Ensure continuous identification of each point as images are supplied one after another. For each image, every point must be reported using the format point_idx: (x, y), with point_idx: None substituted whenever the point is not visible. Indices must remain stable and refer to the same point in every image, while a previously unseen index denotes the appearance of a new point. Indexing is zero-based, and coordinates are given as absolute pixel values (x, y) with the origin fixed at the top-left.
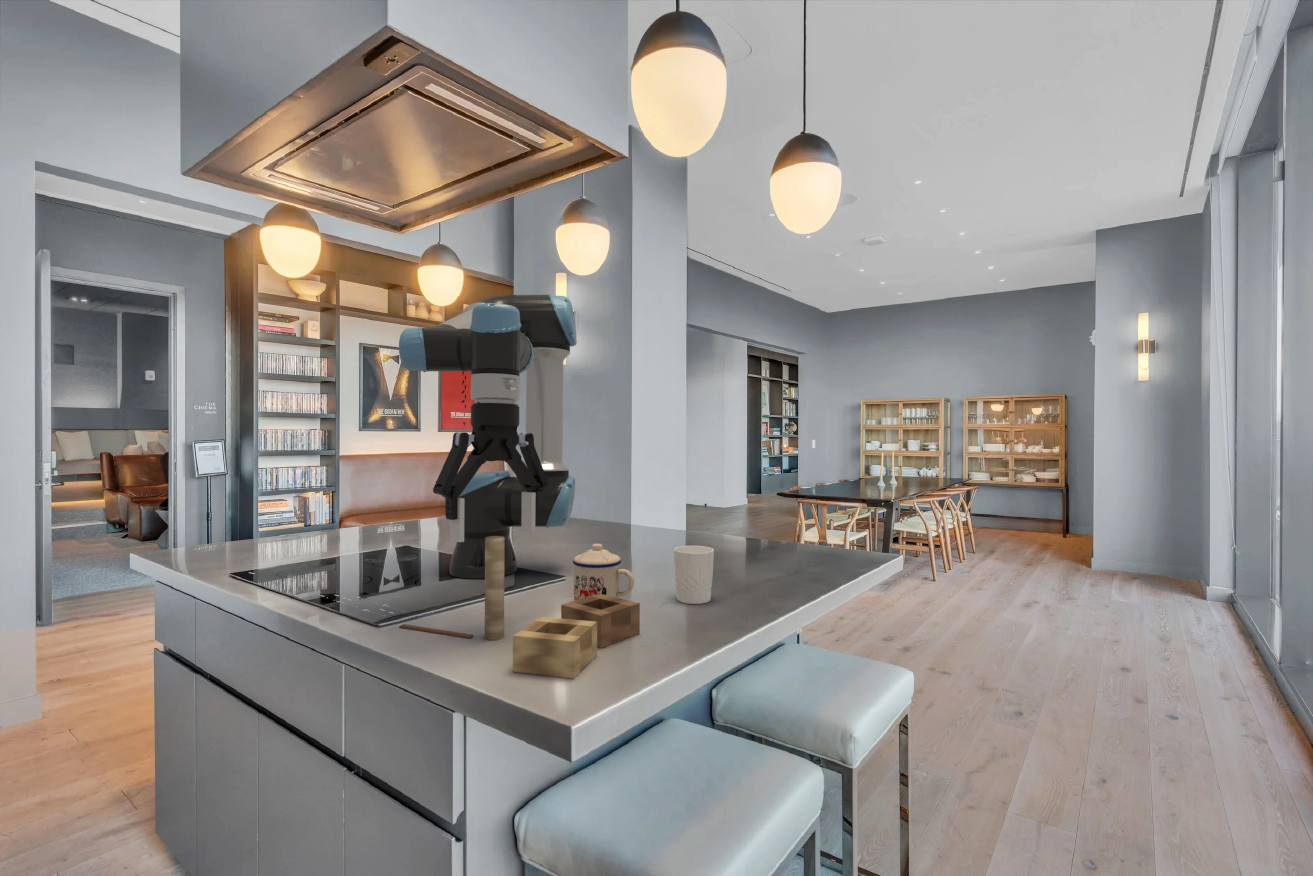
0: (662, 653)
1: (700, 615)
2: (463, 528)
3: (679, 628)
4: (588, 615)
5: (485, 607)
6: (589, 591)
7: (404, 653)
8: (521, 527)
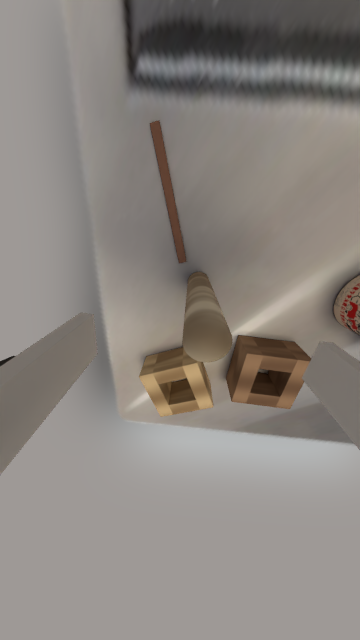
0: (239, 413)
1: None
2: (77, 376)
3: (305, 402)
4: (235, 385)
5: (187, 288)
6: (353, 320)
7: (105, 240)
8: (327, 345)
